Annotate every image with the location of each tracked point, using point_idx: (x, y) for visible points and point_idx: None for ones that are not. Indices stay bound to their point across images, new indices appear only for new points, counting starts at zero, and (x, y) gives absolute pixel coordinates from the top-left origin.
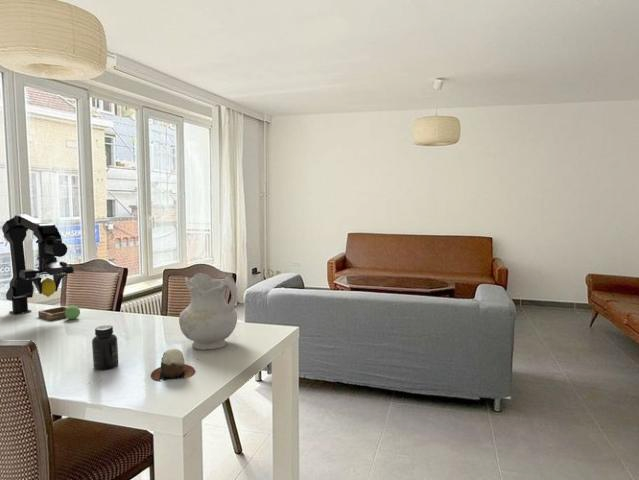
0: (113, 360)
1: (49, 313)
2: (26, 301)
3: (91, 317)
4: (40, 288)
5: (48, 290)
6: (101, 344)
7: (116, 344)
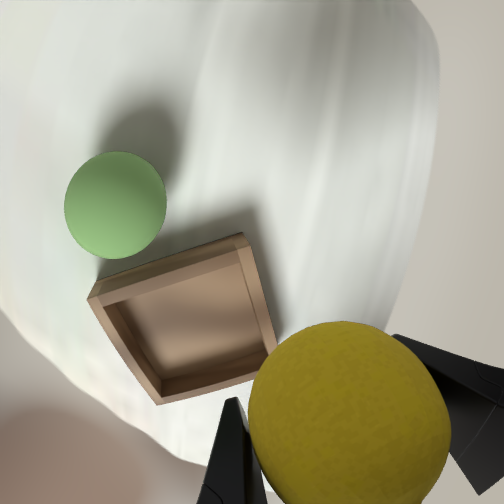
0: None
1: (250, 287)
2: None
3: (32, 175)
4: (438, 359)
5: (365, 333)
6: None
7: None
